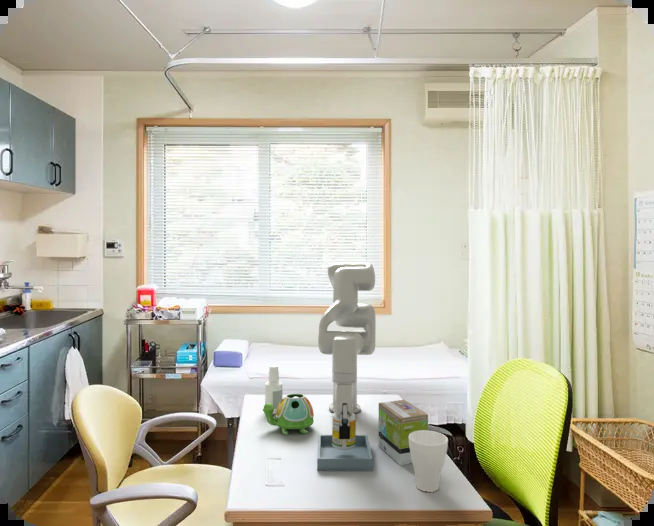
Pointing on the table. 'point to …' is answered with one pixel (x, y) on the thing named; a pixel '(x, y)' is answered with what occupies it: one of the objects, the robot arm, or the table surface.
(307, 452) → the table surface
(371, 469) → the tray
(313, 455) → the table surface
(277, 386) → the spray bottle
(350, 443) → the supplement bottle
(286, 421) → the turtle holder
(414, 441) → the cup
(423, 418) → the tea box
